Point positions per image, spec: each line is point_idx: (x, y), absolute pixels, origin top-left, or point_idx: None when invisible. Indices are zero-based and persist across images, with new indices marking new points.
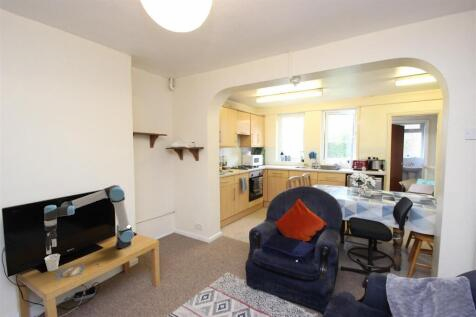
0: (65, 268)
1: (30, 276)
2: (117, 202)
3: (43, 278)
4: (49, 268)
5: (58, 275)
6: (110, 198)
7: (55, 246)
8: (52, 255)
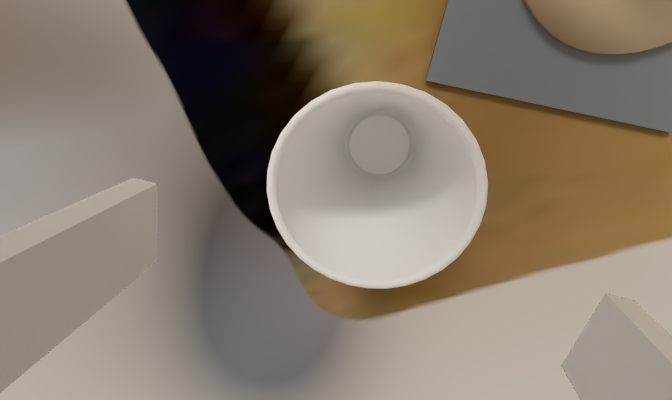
0: (458, 14)
1: (396, 295)
2: None
3: (524, 213)
4: (420, 182)
5: (595, 85)
6: None
7: (156, 198)
8: (278, 190)
